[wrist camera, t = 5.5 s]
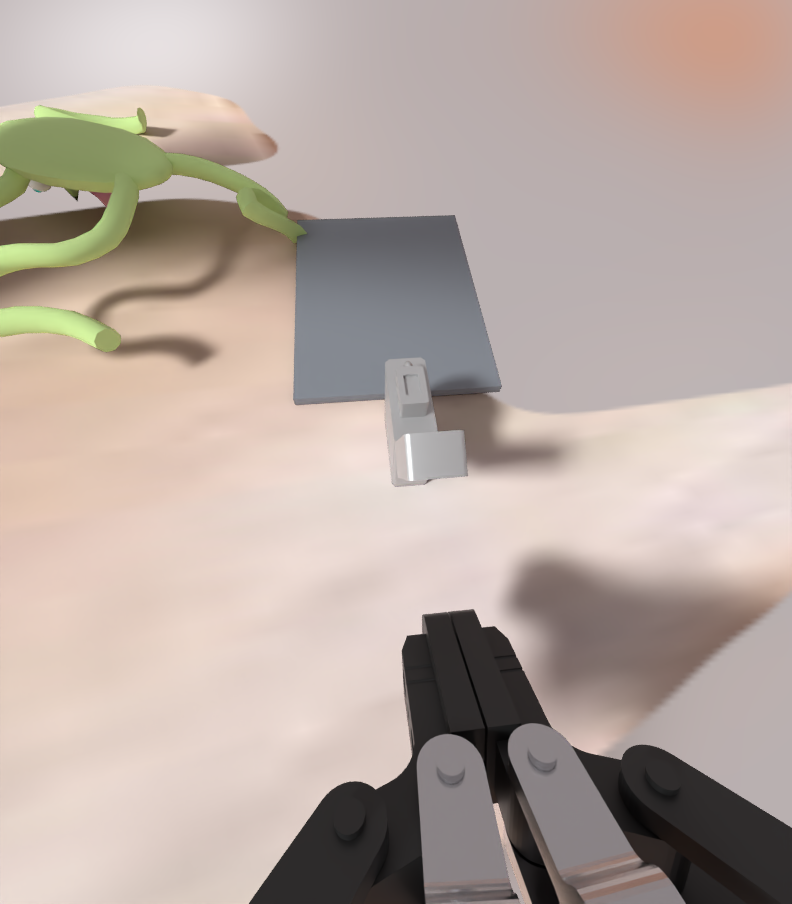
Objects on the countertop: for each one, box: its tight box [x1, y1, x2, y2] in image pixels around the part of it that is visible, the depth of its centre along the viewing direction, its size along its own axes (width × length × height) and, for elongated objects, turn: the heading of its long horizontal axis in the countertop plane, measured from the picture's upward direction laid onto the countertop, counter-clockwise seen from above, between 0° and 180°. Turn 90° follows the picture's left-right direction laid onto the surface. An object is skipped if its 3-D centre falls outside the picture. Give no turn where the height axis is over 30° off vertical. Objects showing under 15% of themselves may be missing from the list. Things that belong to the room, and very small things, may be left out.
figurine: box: [0, 105, 307, 352], centre depth 25 cm, size 18×27×6 cm
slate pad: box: [293, 215, 502, 405], centre depth 25 cm, size 11×15×1 cm
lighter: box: [385, 357, 468, 487], centre depth 16 cm, size 7×2×8 cm, turn 6°
